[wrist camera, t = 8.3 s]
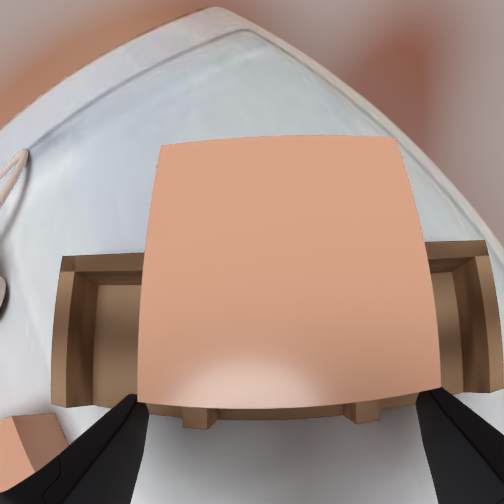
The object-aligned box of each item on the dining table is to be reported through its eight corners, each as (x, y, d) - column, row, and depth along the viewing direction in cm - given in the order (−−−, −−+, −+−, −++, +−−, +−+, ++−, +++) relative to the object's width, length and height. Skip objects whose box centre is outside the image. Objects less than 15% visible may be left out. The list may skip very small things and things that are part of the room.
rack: (469, 387, 16) (503, 388, 12) (86, 401, 17) (51, 403, 14) (455, 261, 19) (485, 240, 15) (93, 275, 20) (62, 256, 17)
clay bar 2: (325, 374, 16) (440, 387, 4) (235, 377, 17) (137, 401, 4) (320, 288, 18) (395, 137, 6) (234, 291, 18) (161, 145, 6)
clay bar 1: (-1, 489, 14) (-37, 496, 9) (-22, 441, 16) (-58, 443, 11) (85, 473, 16) (44, 490, 11) (56, 412, 17) (11, 416, 13)
